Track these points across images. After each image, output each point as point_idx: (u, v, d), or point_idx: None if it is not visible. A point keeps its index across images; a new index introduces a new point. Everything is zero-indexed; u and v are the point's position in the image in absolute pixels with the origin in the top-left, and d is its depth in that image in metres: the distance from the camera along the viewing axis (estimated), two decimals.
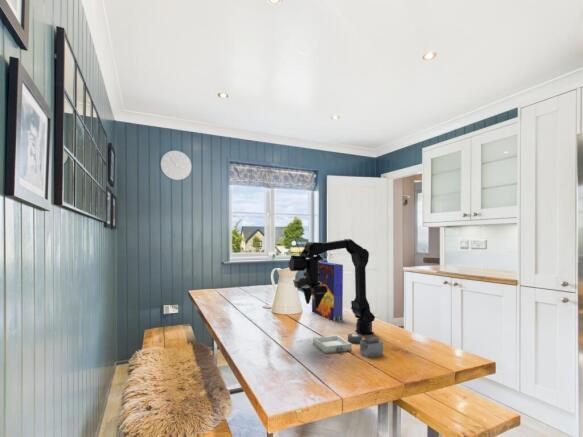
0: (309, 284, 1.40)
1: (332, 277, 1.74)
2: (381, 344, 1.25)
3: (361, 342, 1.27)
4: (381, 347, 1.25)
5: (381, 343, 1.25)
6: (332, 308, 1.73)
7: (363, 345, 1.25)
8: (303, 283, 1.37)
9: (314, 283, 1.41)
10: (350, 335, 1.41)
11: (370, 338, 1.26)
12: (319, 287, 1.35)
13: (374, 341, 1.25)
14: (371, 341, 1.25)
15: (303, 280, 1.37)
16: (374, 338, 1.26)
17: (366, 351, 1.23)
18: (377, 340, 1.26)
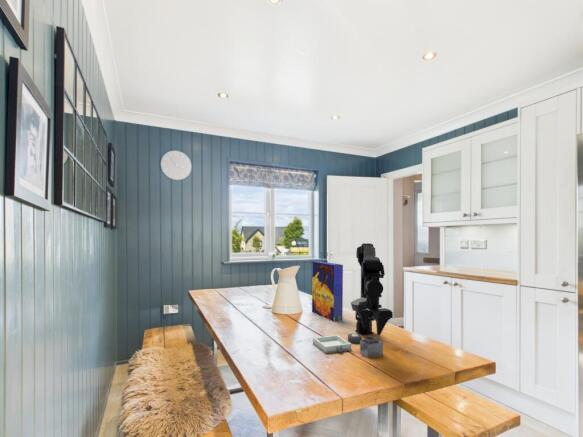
0: (370, 307, 1.23)
1: (332, 277, 1.74)
2: (381, 344, 1.25)
3: (361, 342, 1.27)
4: (381, 347, 1.25)
5: (381, 343, 1.25)
6: (332, 308, 1.73)
7: (363, 345, 1.25)
8: (364, 307, 1.21)
9: (375, 306, 1.24)
10: (350, 335, 1.41)
11: (370, 338, 1.26)
12: (384, 312, 1.18)
13: (374, 341, 1.25)
14: (371, 341, 1.25)
15: (364, 303, 1.21)
16: (374, 338, 1.26)
17: (366, 351, 1.23)
18: (377, 340, 1.26)
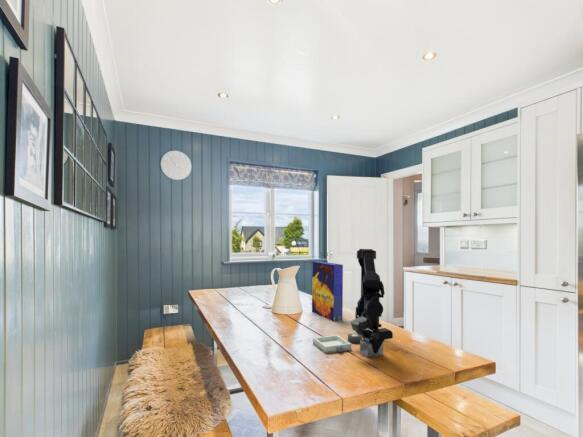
0: (370, 327, 1.23)
1: (332, 277, 1.74)
2: None
3: (361, 342, 1.27)
4: (381, 347, 1.25)
5: None
6: (332, 308, 1.73)
7: (363, 344, 1.25)
8: (364, 327, 1.20)
9: (375, 326, 1.24)
10: (350, 335, 1.41)
11: (370, 338, 1.26)
12: (384, 332, 1.18)
13: None
14: (371, 341, 1.25)
15: (364, 323, 1.21)
16: None
17: (366, 351, 1.23)
18: None
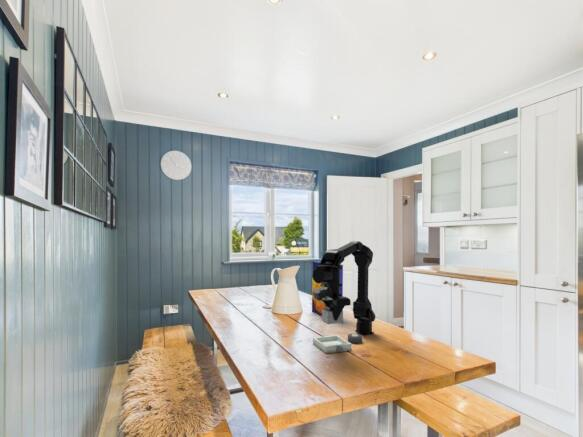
0: (330, 296, 1.30)
1: None
2: (341, 312, 1.32)
3: (323, 310, 1.34)
4: (341, 315, 1.32)
5: None
6: None
7: (324, 313, 1.33)
8: (324, 295, 1.28)
9: (335, 294, 1.31)
10: (350, 335, 1.41)
11: (331, 306, 1.33)
12: (342, 299, 1.25)
13: None
14: (331, 309, 1.32)
15: (324, 292, 1.28)
16: None
17: (326, 318, 1.31)
18: None
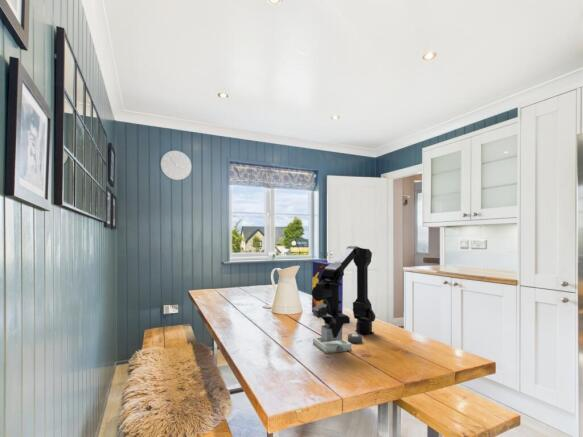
0: (329, 313, 1.30)
1: None
2: None
3: (322, 327, 1.34)
4: (340, 332, 1.32)
5: None
6: None
7: (323, 330, 1.33)
8: (323, 312, 1.28)
9: (335, 312, 1.31)
10: (350, 335, 1.41)
11: (330, 323, 1.33)
12: (341, 317, 1.25)
13: None
14: (331, 326, 1.32)
15: (323, 309, 1.28)
16: None
17: (326, 335, 1.31)
18: None
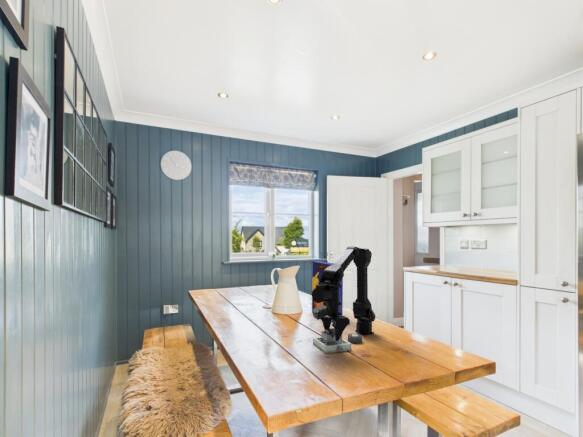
0: (329, 315, 1.30)
1: None
2: None
3: (322, 333, 1.34)
4: (340, 338, 1.32)
5: None
6: None
7: (323, 336, 1.32)
8: (323, 314, 1.28)
9: (335, 313, 1.31)
10: (350, 335, 1.41)
11: (330, 329, 1.33)
12: (341, 319, 1.25)
13: (334, 332, 1.32)
14: (331, 332, 1.32)
15: (323, 311, 1.28)
16: (334, 329, 1.33)
17: (326, 341, 1.31)
18: None
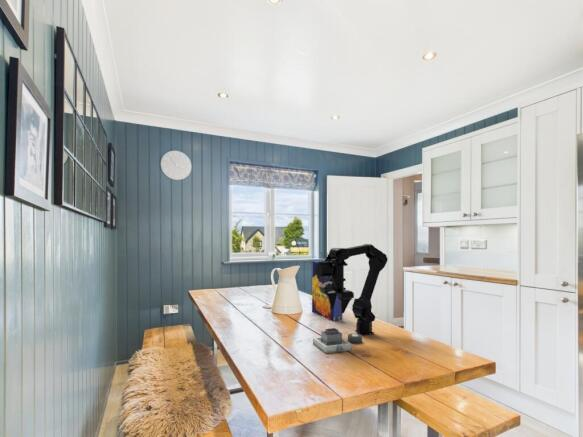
0: (335, 289, 1.42)
1: None
2: (340, 335, 1.32)
3: (322, 333, 1.34)
4: (340, 338, 1.32)
5: (340, 334, 1.32)
6: None
7: (323, 336, 1.32)
8: (330, 289, 1.40)
9: (340, 288, 1.43)
10: (350, 335, 1.41)
11: (330, 329, 1.33)
12: (346, 293, 1.37)
13: (334, 332, 1.32)
14: (331, 332, 1.32)
15: (330, 286, 1.40)
16: (334, 329, 1.33)
17: (326, 341, 1.31)
18: (337, 331, 1.33)
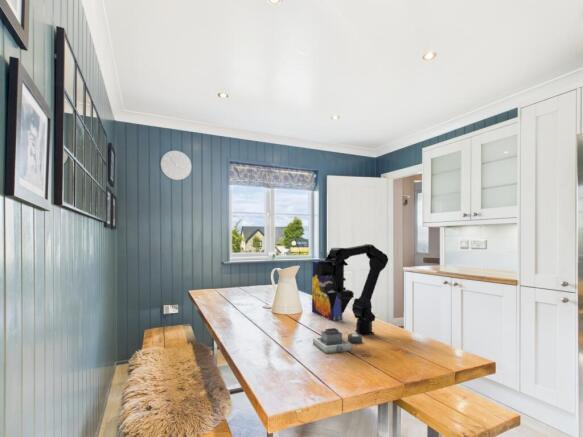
0: (335, 289, 1.43)
1: None
2: (340, 335, 1.32)
3: (322, 333, 1.34)
4: (340, 338, 1.32)
5: (340, 334, 1.32)
6: (332, 308, 1.73)
7: (323, 336, 1.32)
8: (329, 288, 1.40)
9: (340, 288, 1.44)
10: (350, 335, 1.41)
11: (330, 329, 1.33)
12: (346, 292, 1.38)
13: (334, 332, 1.32)
14: (331, 332, 1.32)
15: (329, 285, 1.40)
16: (334, 329, 1.33)
17: (326, 341, 1.31)
18: (337, 331, 1.33)
